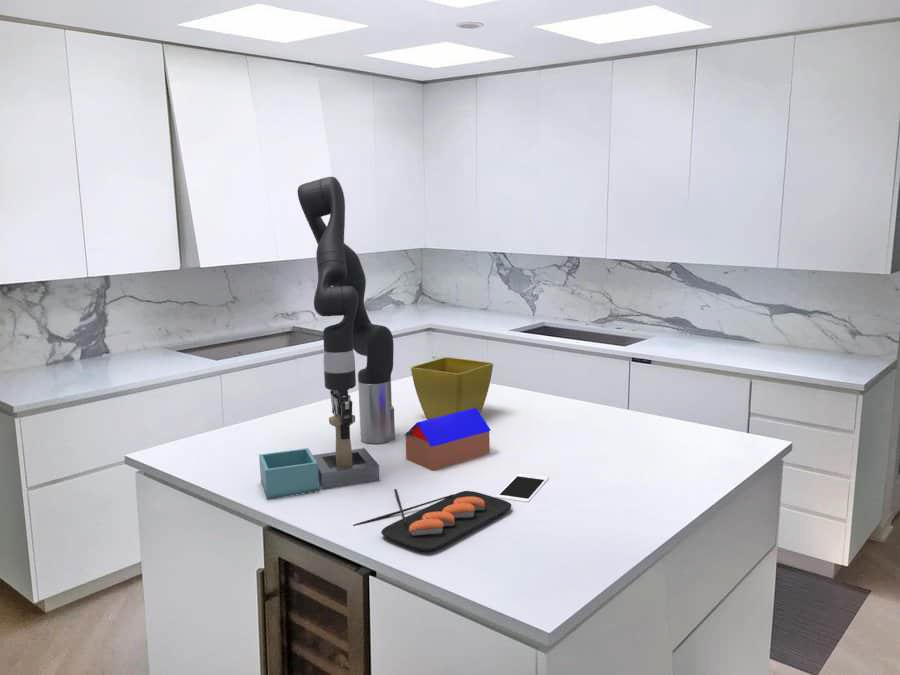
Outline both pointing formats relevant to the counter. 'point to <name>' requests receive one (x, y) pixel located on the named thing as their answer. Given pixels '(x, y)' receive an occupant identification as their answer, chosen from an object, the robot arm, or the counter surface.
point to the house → (448, 439)
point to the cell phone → (522, 487)
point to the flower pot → (451, 385)
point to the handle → (342, 444)
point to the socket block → (346, 469)
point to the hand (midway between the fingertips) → (342, 435)
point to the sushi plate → (442, 519)
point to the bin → (288, 473)
